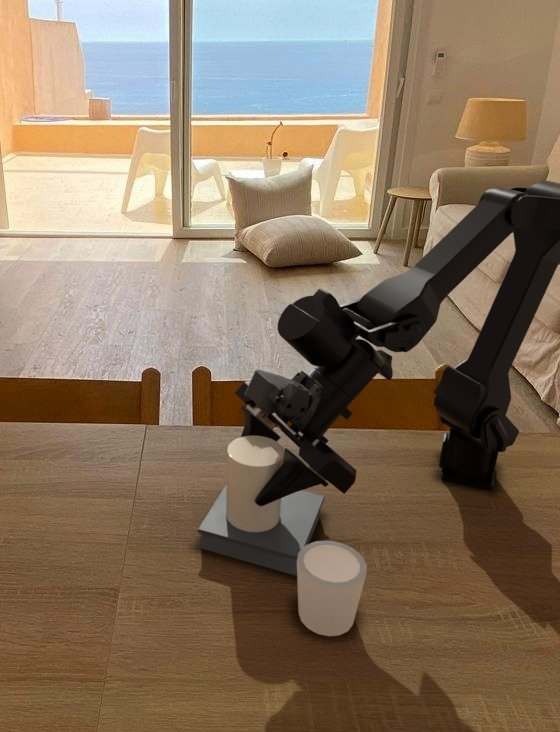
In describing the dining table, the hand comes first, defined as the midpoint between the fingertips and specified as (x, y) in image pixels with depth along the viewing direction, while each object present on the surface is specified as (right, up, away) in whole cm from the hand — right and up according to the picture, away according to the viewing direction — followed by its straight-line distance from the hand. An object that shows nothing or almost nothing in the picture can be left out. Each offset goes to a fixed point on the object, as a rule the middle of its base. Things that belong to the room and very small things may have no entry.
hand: (243, 487), depth 80 cm
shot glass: (+8, -12, -8) cm, 16 cm away
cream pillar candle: (+1, -4, +2) cm, 5 cm away
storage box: (+3, -6, +4) cm, 8 cm away
